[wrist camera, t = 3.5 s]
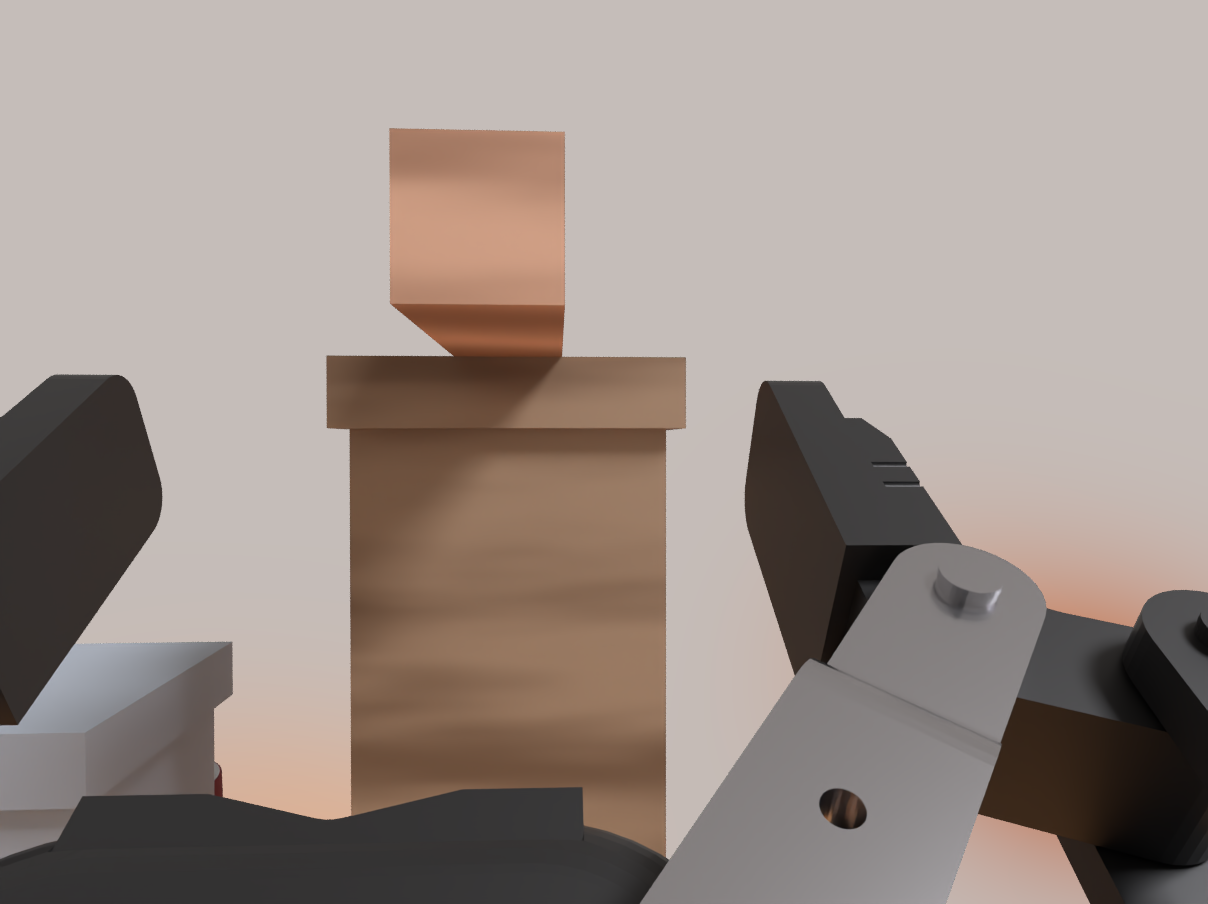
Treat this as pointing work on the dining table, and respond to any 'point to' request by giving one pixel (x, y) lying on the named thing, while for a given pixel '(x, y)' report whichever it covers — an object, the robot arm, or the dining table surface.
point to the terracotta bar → (480, 238)
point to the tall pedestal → (509, 577)
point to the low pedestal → (111, 733)
